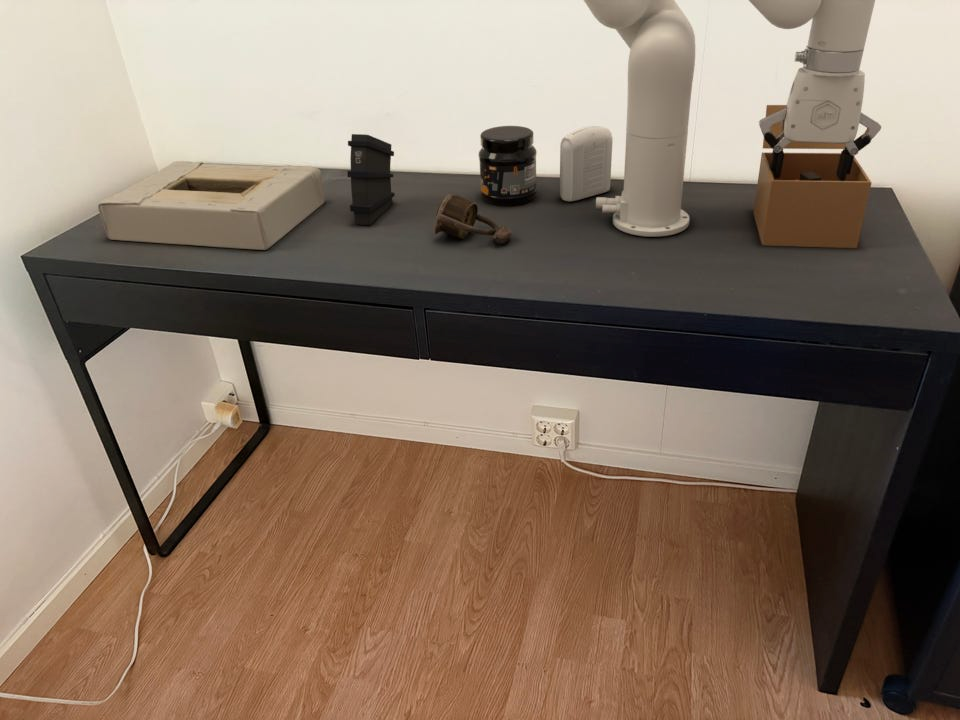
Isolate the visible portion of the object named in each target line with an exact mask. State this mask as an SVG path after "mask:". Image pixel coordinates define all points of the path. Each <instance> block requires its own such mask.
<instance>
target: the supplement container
mask: <svg viewBox="0 0 960 720" xmlns="http://www.w3.org/2000/svg"><path fill="white" fill-rule="evenodd" d="M479 136H480V137H479V139H480V140H479V141H480V146H481V148H480V149H479V151H478V153H477V154H478V160H479V175H480V176H479V177H480V195H481V198H483V200H484V201H485V202H487V203H490V204H492V205H497V206H516V205H521V204H524V203H527V202H529V201H531V200H532V199H534V198H535V197H536V195H537V193H538V186H537V155H538V154H537V153H538V151H537V149H536V147H535V146H534V145H533V144H534V143H535V141H534V138H535V137H534V136H535V135H534V131H533V130H532V129H531V128H529V127H525V126H520V125H500V126H495V127H490V128H487V129H484V130H483V131H482V132H481V133H480V134H479Z"/></svg>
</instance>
